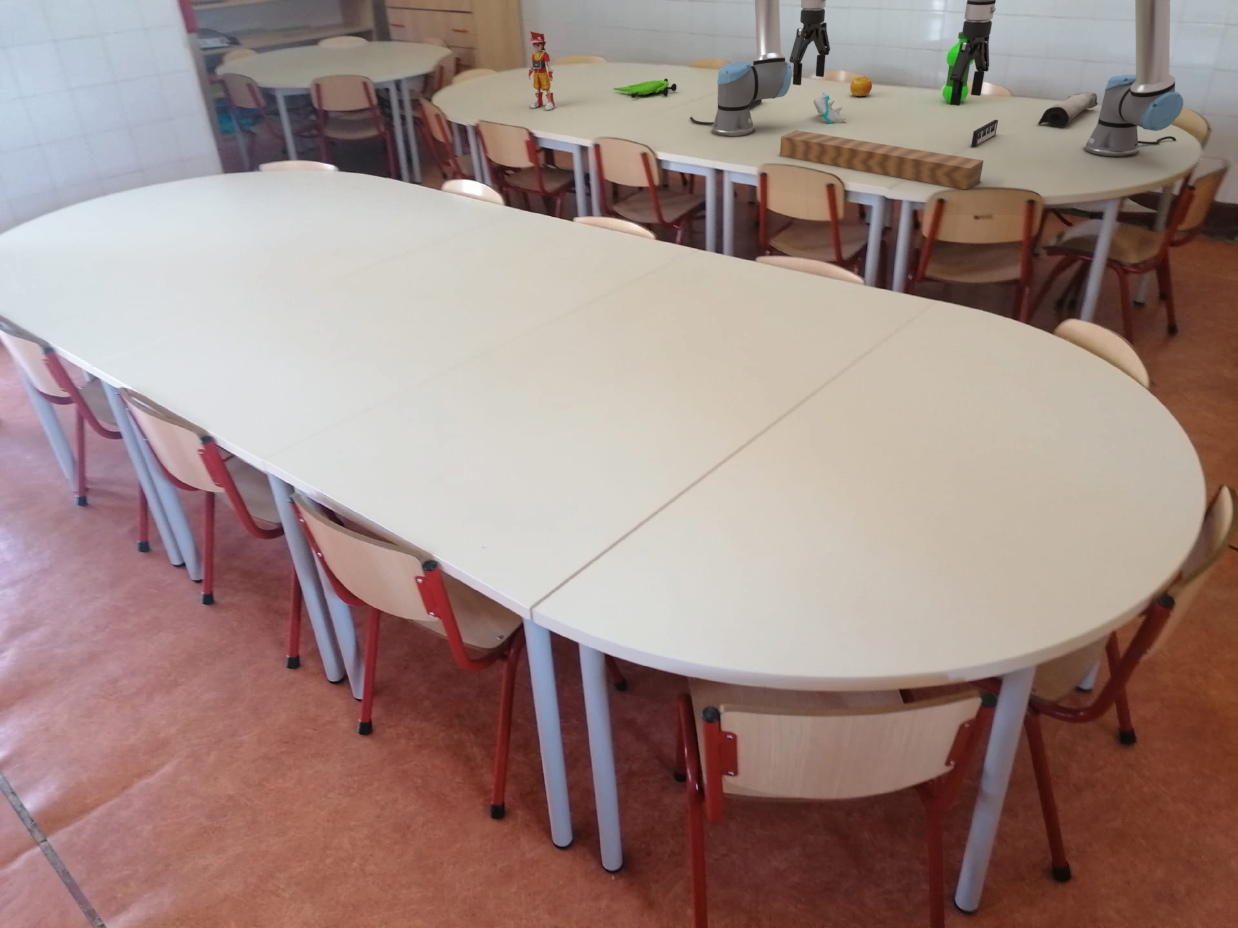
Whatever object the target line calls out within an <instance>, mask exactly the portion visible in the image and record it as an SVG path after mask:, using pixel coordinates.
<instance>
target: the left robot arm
mask: <svg viewBox="0 0 1238 928" xmlns="http://www.w3.org/2000/svg"><path fill="white" fill-rule="evenodd" d="M826 1H827V0H800V8H801V10H800V20H799V21H800V23H801V24H802V28H797V29H796V33H795V39H794V42H793V46H792V49H791V52H790V56H789V59H788V60H789V62H788V61H786V56H785V55H784V54H783V53H782V47H781V45H782V44H781V15H780V13H781V12H780V0H754V13H755V36H756V37H755V39H756V56H755V57H754V59H753V60H752V65H751V63H750V62H748V61H736V62H732V63H727V64H725V65H723V66H722V67H720V69H719V70H718V75H717V111H716V114H715V118H714V120H713V121H700V120H696V119H694V118H693V116H689V119H690V120H691V122H692V123H694V124H697V125H704V126H712V133H713V134H715V135H717V136H721V137H741V136H746V135H750V134H752V133H754V127H755V126H754V122H753V118H752V115H751V111H750V109H749V101H751V100H761V99H762V100H770V99H771V100H772V99H773V100H774V99H777V98H778V99H779V98H782V97H785V96H786V95H787V93H788V92H789V90H790V87H791V83H792V85H794V86H802V77H803V75H802V74H803V63H802V60H803V58H804V56H805V54H806V51H807V49H808V47H809V45H810V44H811V43H812V42H813V43H814V46H815V49H816V50H817V53H818V54H817V55H816V64H815V67H816V68H815V77H819V78H824V77H825V68H826V67H825V66H826V56H829V55H830V51H831V46H830V45H831V44H830V41H829V35H828V30H827V29H828V28H827V27H828V24H827V23H828V22H825V17H826V9H825V7H826ZM791 64H793V66H792V67H793V69H792V67H791Z"/></svg>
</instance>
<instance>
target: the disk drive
mask: <svg viewBox="0 0 1238 928" xmlns="http://www.w3.org/2000/svg"><path fill="white" fill-rule="evenodd" d="M762 102H763V99H761V100H751V101H749V110H750V109H752V108H753V107H756V106H757V105H759V104H761V103H762Z"/></svg>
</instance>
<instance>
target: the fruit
mask: <svg viewBox="0 0 1238 928" xmlns="http://www.w3.org/2000/svg"><path fill="white" fill-rule="evenodd" d="M872 88H873V84H872V81H871V79H870V78H868V77H866V76H859V77H856V78H854V79H853V80H852V81H851V82H850V86H849V89H850V90H849V91H850V92H851V94H852V95H853V96H855V97H865V96H868V95H869V94H870V93H871V91H872Z"/></svg>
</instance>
